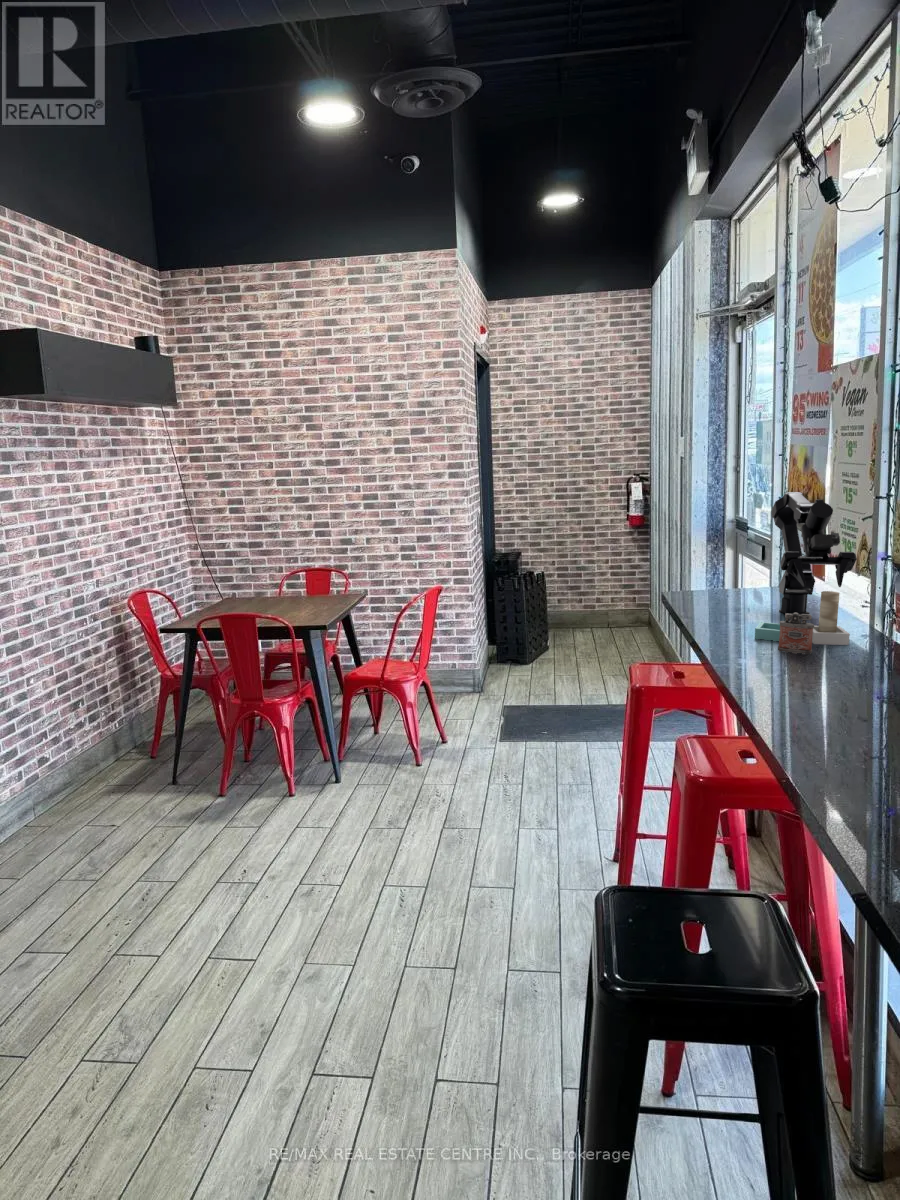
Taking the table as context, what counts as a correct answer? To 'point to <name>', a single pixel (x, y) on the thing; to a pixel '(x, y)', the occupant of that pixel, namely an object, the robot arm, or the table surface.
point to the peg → (828, 611)
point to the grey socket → (830, 637)
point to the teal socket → (767, 631)
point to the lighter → (796, 634)
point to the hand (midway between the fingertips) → (822, 586)
